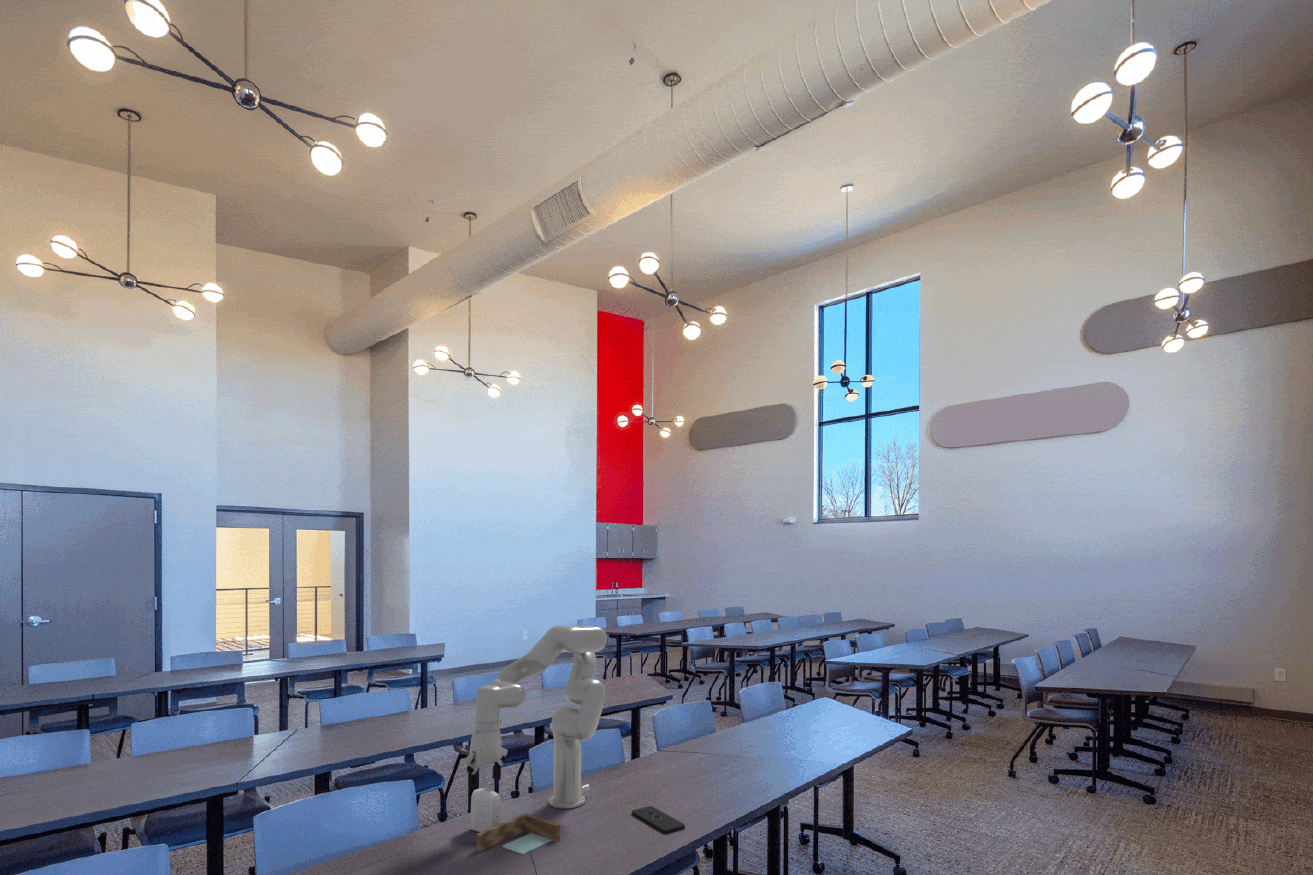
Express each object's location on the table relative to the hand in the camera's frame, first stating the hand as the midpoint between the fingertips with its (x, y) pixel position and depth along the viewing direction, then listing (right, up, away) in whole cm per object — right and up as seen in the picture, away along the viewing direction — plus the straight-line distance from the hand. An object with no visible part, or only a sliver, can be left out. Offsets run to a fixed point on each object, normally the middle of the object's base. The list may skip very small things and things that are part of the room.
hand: (484, 782), depth 226 cm
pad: (+16, -13, -11) cm, 23 cm away
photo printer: (+1, -15, -2) cm, 15 cm away
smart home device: (+55, -16, +6) cm, 57 cm away
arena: (+13, -13, -12) cm, 22 cm away
